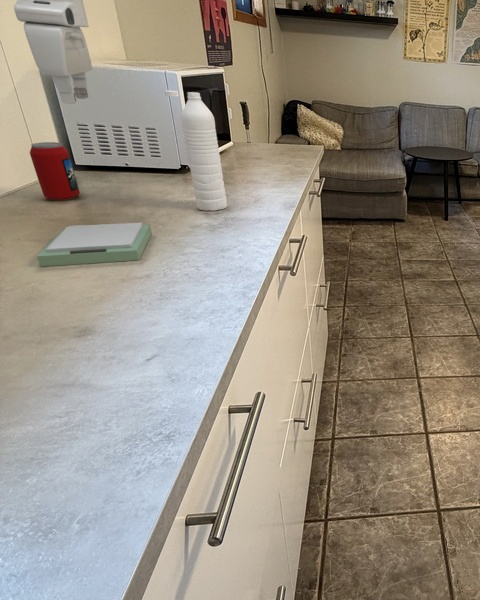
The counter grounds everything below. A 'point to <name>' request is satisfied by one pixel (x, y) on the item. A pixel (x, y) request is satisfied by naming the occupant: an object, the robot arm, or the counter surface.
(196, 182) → the water bottle
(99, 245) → the kitchen scale
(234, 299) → the counter surface
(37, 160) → the beverage can
